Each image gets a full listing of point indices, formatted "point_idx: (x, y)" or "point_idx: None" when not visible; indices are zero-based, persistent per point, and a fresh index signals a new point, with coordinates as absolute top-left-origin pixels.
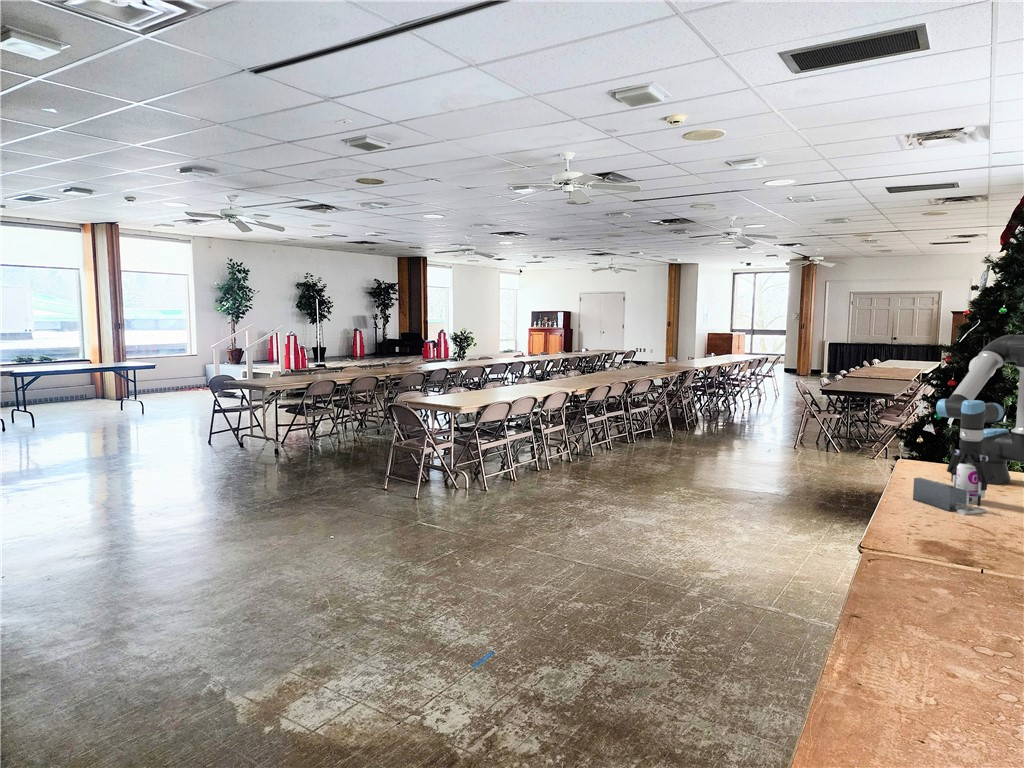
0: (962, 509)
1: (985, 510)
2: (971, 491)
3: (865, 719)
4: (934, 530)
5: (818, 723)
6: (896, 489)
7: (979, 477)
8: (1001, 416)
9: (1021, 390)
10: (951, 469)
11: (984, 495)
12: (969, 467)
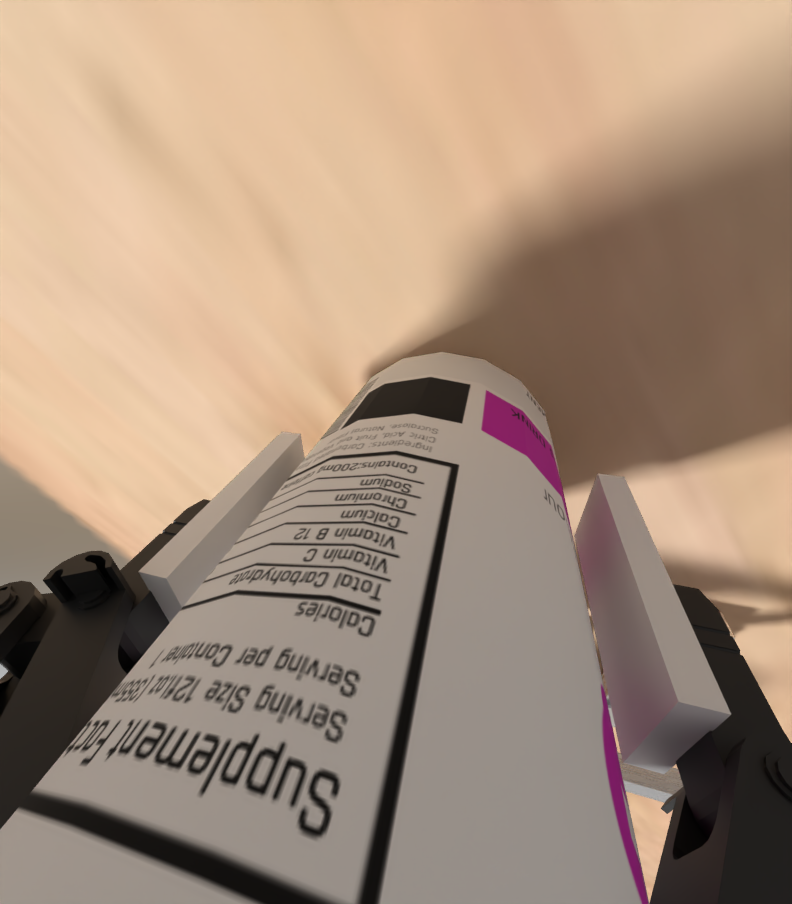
0: (610, 708)
1: (729, 628)
2: (642, 792)
3: None
4: (659, 861)
5: None
6: (128, 546)
7: (670, 897)
8: None
9: None
10: (21, 663)
11: (631, 501)
12: None
